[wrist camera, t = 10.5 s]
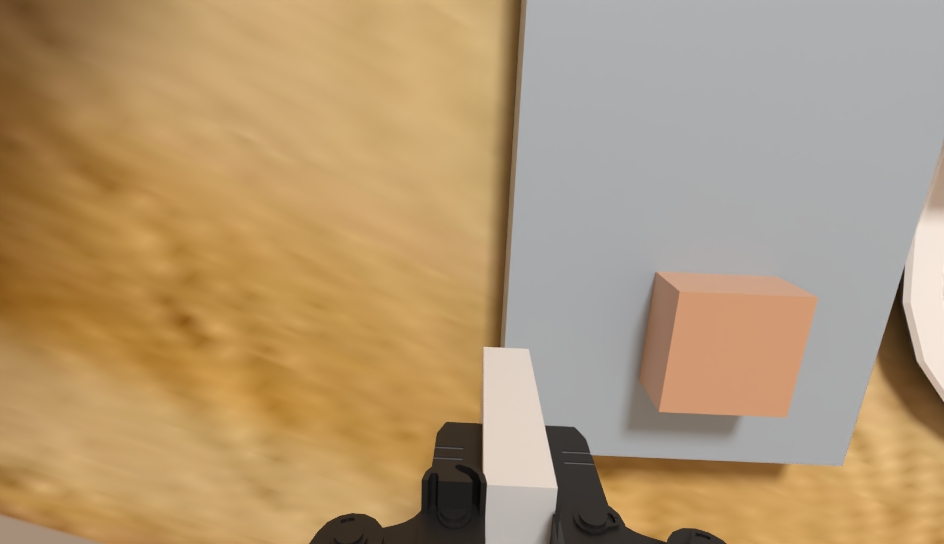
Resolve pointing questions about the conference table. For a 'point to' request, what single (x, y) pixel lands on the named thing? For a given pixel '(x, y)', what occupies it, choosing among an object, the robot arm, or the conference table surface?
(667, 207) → the board
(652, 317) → the tile
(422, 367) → the conference table surface
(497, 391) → the robot arm
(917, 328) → the plate
